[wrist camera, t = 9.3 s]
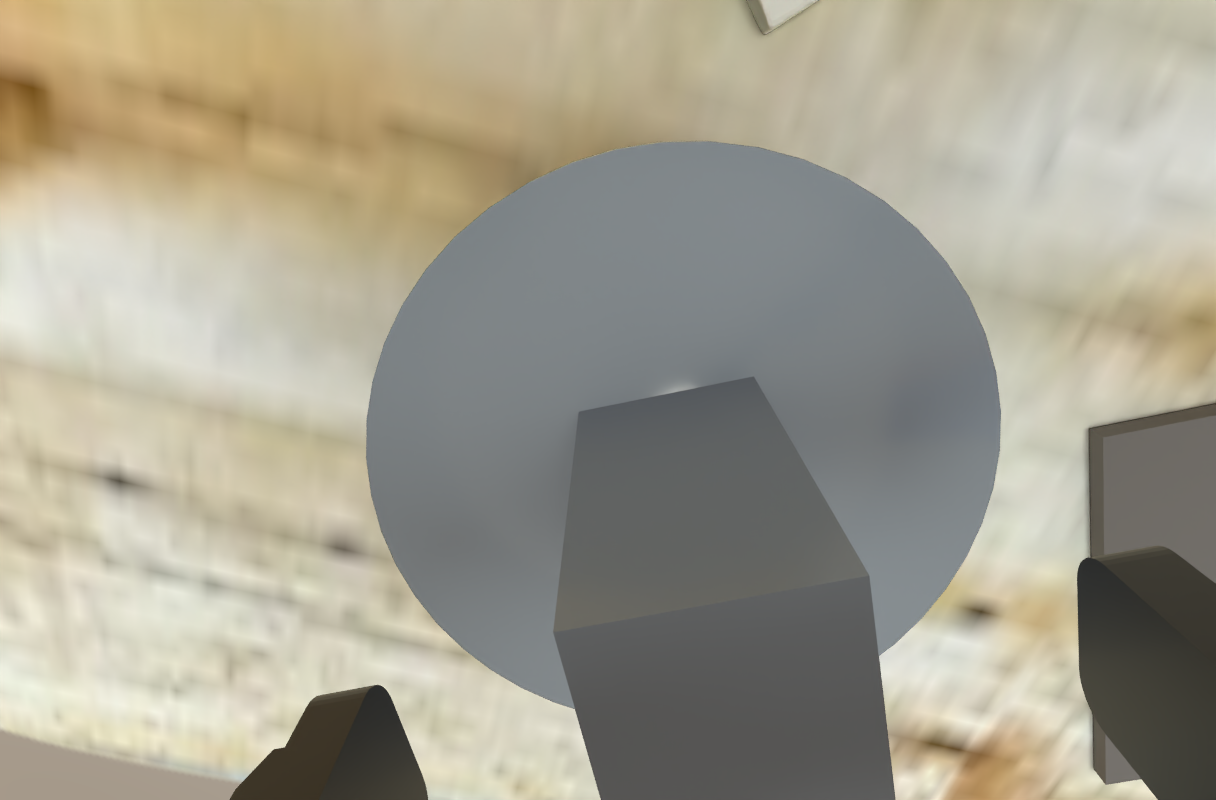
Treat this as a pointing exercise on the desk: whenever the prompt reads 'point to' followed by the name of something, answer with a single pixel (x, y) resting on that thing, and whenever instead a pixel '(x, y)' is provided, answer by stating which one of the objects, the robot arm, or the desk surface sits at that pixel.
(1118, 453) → the mat
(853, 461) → the lid
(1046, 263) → the desk surface
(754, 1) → the external hard drive
